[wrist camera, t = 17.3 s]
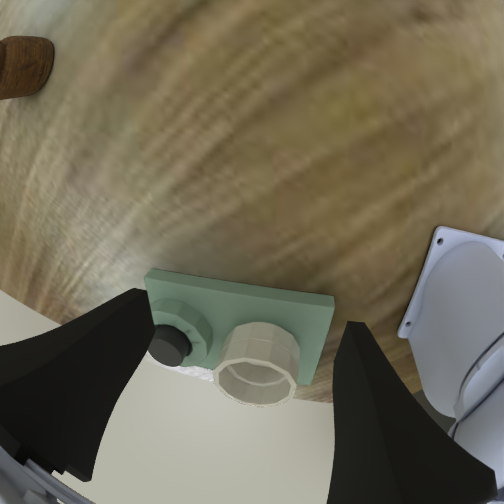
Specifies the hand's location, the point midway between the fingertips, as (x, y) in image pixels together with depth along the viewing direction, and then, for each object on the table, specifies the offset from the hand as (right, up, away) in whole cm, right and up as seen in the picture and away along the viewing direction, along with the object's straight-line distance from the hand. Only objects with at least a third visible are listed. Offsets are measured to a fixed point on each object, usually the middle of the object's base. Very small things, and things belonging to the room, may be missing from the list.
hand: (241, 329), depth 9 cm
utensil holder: (-19, +20, +5) cm, 28 cm away
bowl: (+1, -5, +11) cm, 12 cm away
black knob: (-6, -4, +11) cm, 13 cm away
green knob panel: (-1, -4, +13) cm, 13 cm away
